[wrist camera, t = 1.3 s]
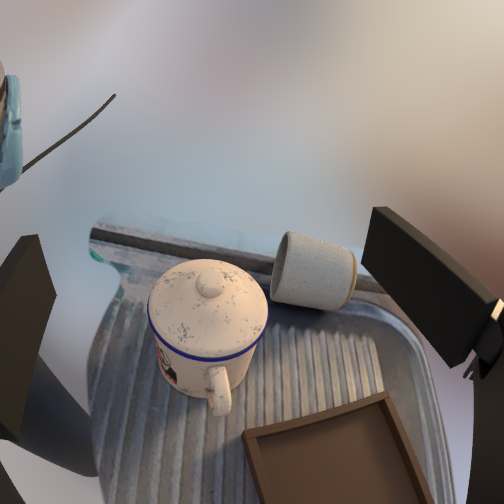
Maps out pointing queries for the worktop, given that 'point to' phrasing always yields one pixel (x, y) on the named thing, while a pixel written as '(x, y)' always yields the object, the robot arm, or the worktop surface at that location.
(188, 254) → the worktop surface
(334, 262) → the ceramic mug
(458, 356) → the robot arm
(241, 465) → the worktop surface
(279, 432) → the rectangular tray
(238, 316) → the teacup with lid
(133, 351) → the worktop surface
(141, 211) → the worktop surface
